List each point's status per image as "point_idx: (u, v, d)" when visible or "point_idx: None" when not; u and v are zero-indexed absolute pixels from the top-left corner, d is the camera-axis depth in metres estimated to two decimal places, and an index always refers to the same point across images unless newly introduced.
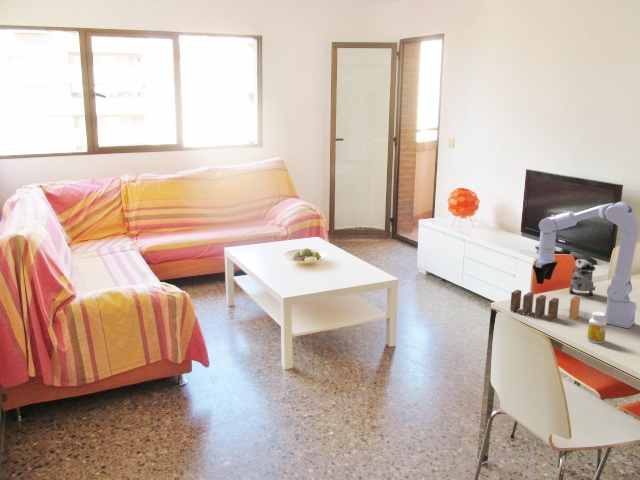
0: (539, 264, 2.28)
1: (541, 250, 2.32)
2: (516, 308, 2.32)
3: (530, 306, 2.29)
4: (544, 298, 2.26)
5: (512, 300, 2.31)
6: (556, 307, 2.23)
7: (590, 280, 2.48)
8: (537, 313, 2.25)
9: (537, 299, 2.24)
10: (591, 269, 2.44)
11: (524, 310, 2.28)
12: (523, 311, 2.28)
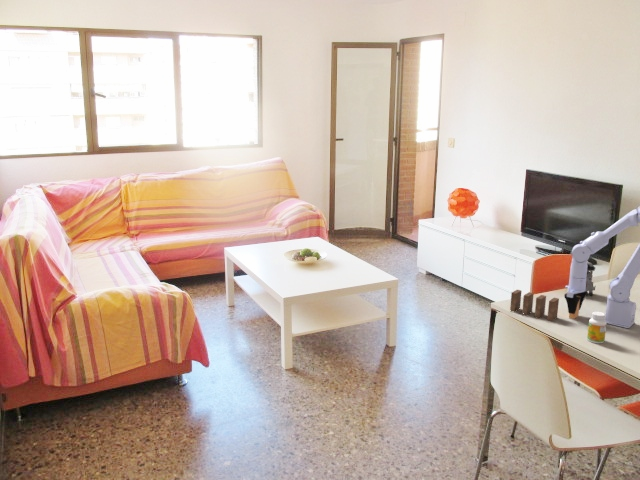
0: (570, 294, 2.18)
1: (572, 279, 2.21)
2: (516, 308, 2.32)
3: (530, 306, 2.29)
4: (544, 298, 2.26)
5: (512, 300, 2.31)
6: (556, 307, 2.23)
7: (590, 280, 2.48)
8: (537, 313, 2.25)
9: (537, 299, 2.24)
10: (591, 269, 2.44)
11: (524, 310, 2.28)
12: (523, 311, 2.28)
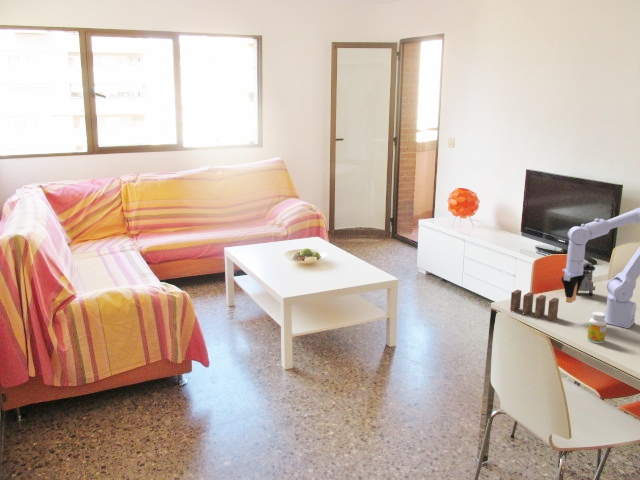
0: (567, 277, 2.14)
1: (569, 262, 2.17)
2: (516, 308, 2.32)
3: (530, 306, 2.29)
4: (544, 298, 2.26)
5: (512, 300, 2.31)
6: (556, 307, 2.23)
7: (590, 280, 2.48)
8: (537, 313, 2.25)
9: (537, 299, 2.24)
10: (591, 269, 2.44)
11: (524, 310, 2.28)
12: (523, 311, 2.28)
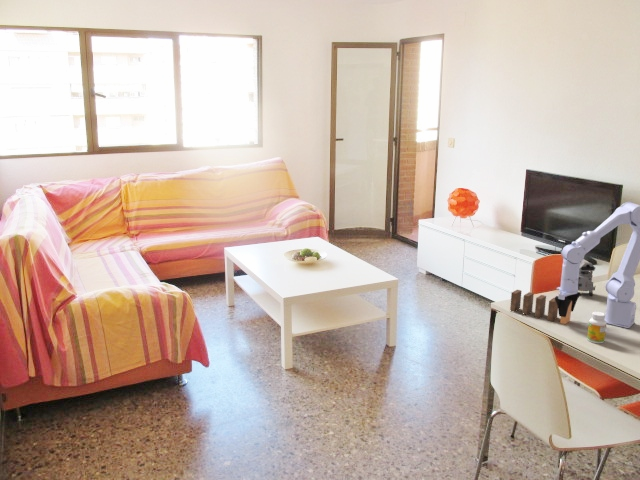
0: (562, 296, 2.13)
1: (564, 281, 2.16)
2: (516, 308, 2.32)
3: (530, 306, 2.29)
4: (544, 298, 2.26)
5: (512, 300, 2.31)
6: (556, 307, 2.23)
7: (590, 280, 2.48)
8: (537, 313, 2.25)
9: (537, 299, 2.24)
10: (591, 269, 2.44)
11: (524, 310, 2.28)
12: (523, 311, 2.28)
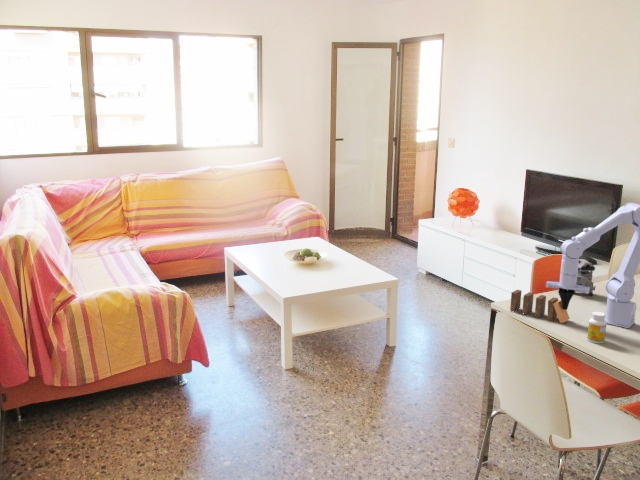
0: (546, 283, 2.21)
1: None
2: (516, 308, 2.32)
3: (530, 306, 2.29)
4: (544, 298, 2.26)
5: (512, 300, 2.30)
6: None
7: (590, 280, 2.48)
8: (537, 313, 2.25)
9: (537, 299, 2.24)
10: (591, 269, 2.44)
11: (524, 310, 2.28)
12: (523, 311, 2.28)
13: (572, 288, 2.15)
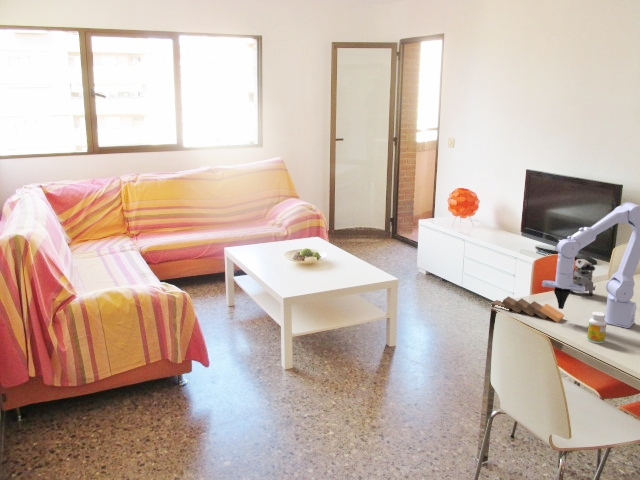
0: None
1: None
2: None
3: None
4: (521, 300, 2.32)
5: None
6: (540, 306, 2.27)
7: (590, 280, 2.48)
8: (528, 311, 2.27)
9: (516, 305, 2.30)
10: (591, 269, 2.44)
11: (516, 309, 2.30)
12: (517, 310, 2.30)
13: (567, 287, 2.16)
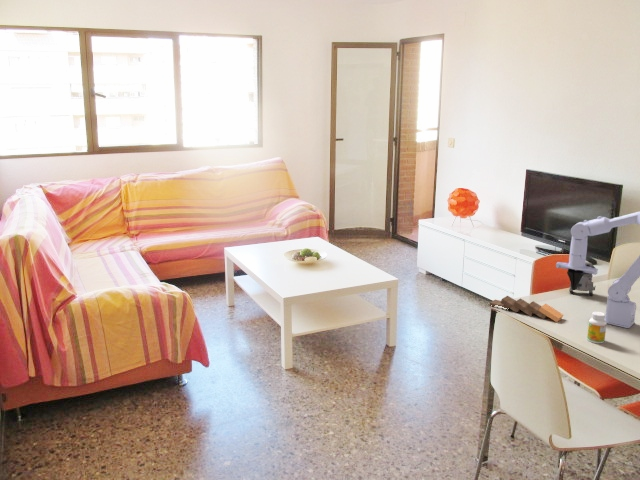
0: None
1: None
2: None
3: None
4: (520, 300, 2.32)
5: None
6: (539, 306, 2.27)
7: (590, 280, 2.48)
8: (527, 311, 2.27)
9: (514, 304, 2.30)
10: None
11: (514, 309, 2.30)
12: (514, 310, 2.30)
13: (580, 269, 2.22)
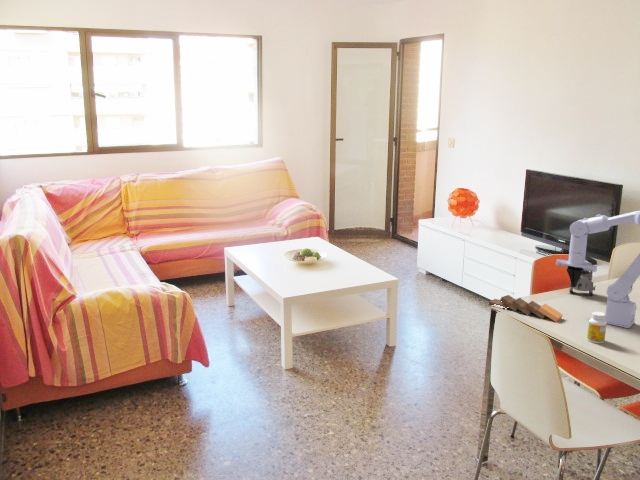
0: None
1: None
2: None
3: None
4: (519, 299, 2.33)
5: None
6: (538, 306, 2.28)
7: (590, 280, 2.48)
8: (525, 310, 2.28)
9: (513, 304, 2.31)
10: None
11: (512, 307, 2.32)
12: (513, 308, 2.31)
13: (579, 266, 2.23)
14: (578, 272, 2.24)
